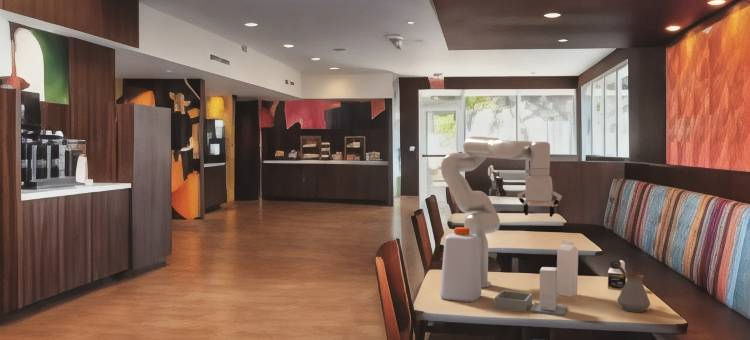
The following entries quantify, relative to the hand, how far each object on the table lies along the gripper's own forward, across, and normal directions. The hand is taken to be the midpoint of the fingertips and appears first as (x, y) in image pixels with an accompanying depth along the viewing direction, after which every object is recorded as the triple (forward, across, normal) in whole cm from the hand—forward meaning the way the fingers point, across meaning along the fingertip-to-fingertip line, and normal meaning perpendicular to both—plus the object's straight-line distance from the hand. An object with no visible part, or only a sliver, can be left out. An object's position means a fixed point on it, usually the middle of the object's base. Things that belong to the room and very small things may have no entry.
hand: (538, 215), depth 245 cm
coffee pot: (+34, +34, +4) cm, 48 cm away
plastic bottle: (+34, -28, -12) cm, 45 cm away
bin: (+33, -6, -16) cm, 37 cm away
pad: (+33, +7, -16) cm, 38 cm away
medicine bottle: (+34, +28, +35) cm, 56 cm away
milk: (+34, +10, +12) cm, 37 cm away
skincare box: (+33, +7, -16) cm, 37 cm away
